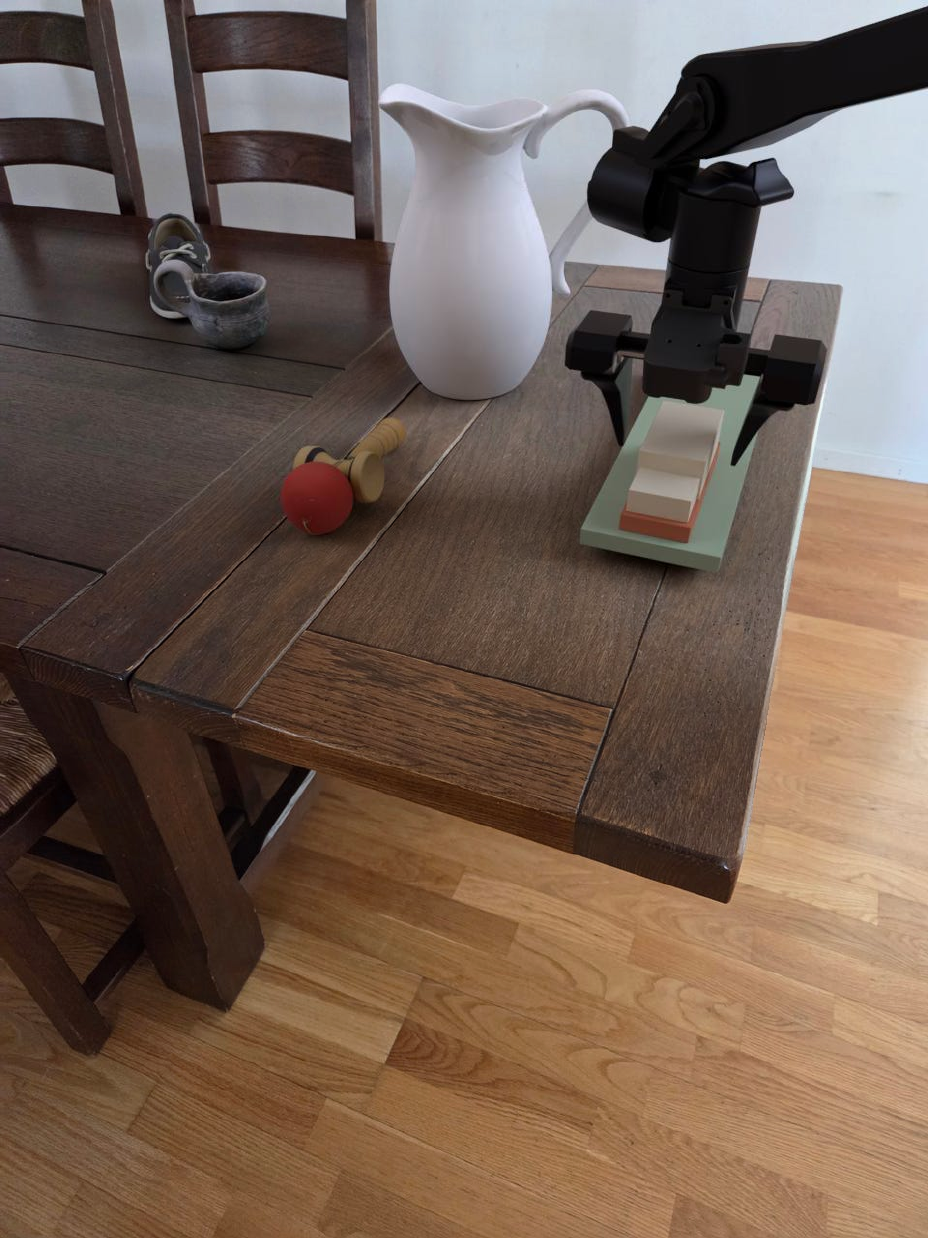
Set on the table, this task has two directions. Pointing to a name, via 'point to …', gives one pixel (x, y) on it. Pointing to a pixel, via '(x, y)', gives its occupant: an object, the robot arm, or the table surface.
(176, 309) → the mug
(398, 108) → the pitcher
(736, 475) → the flat pale green board
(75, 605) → the table surface
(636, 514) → the stepped block on base
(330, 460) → the kendama
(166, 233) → the boat shoe
